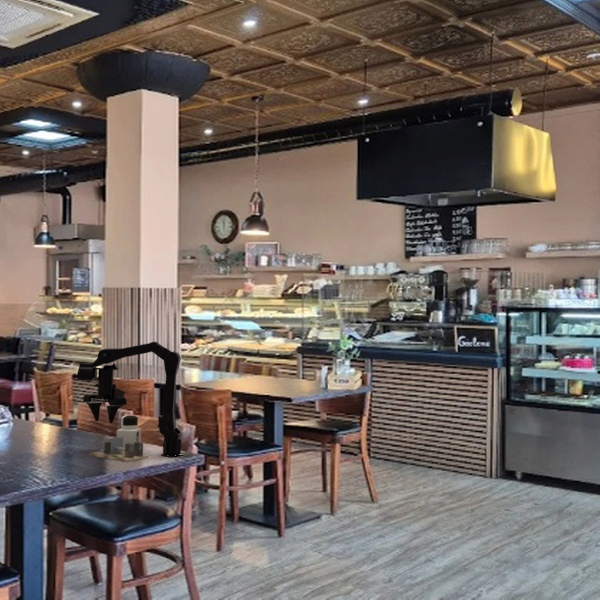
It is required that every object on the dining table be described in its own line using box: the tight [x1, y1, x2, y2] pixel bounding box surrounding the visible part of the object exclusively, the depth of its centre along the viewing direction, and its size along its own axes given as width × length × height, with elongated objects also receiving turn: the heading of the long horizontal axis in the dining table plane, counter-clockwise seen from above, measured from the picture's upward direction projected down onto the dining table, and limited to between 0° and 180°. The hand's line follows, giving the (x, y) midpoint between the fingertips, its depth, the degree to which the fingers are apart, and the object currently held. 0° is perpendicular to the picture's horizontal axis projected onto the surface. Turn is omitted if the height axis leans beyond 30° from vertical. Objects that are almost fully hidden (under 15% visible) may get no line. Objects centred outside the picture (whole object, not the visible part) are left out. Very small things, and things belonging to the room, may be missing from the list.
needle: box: [103, 441, 111, 454], centre depth 296 cm, size 2×2×4 cm
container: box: [116, 414, 142, 448], centre depth 319 cm, size 8×8×13 cm
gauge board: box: [89, 442, 149, 463], centre depth 299 cm, size 20×11×6 cm, turn 55°
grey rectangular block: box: [99, 436, 125, 454], centre depth 298 cm, size 8×9×6 cm
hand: (104, 422), depth 305 cm, fingers open, 8 cm apart
